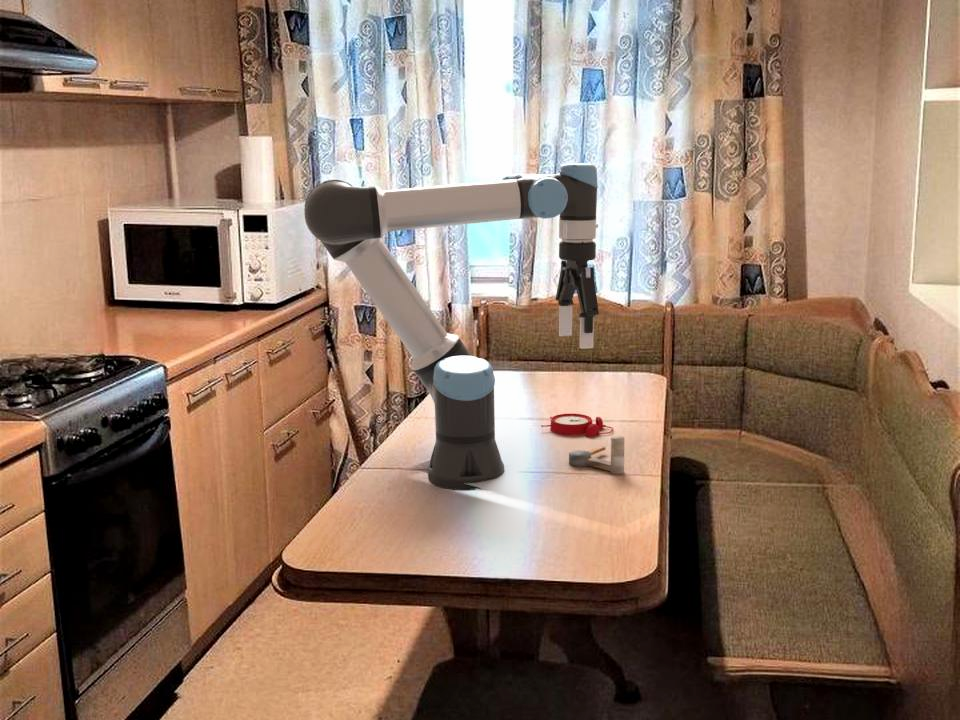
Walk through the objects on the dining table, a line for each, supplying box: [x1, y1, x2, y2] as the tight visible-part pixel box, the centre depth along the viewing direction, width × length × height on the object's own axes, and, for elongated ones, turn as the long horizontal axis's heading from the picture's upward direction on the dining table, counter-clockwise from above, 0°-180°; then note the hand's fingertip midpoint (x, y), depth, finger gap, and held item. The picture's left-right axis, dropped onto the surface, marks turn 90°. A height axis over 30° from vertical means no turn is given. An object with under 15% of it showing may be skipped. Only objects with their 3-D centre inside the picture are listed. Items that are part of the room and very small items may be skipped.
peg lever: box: [568, 435, 625, 476], centre depth 204 cm, size 12×10×7 cm
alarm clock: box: [540, 413, 614, 438], centre depth 228 cm, size 10×6×15 cm
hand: (575, 342), depth 214 cm, fingers open, 13 cm apart
